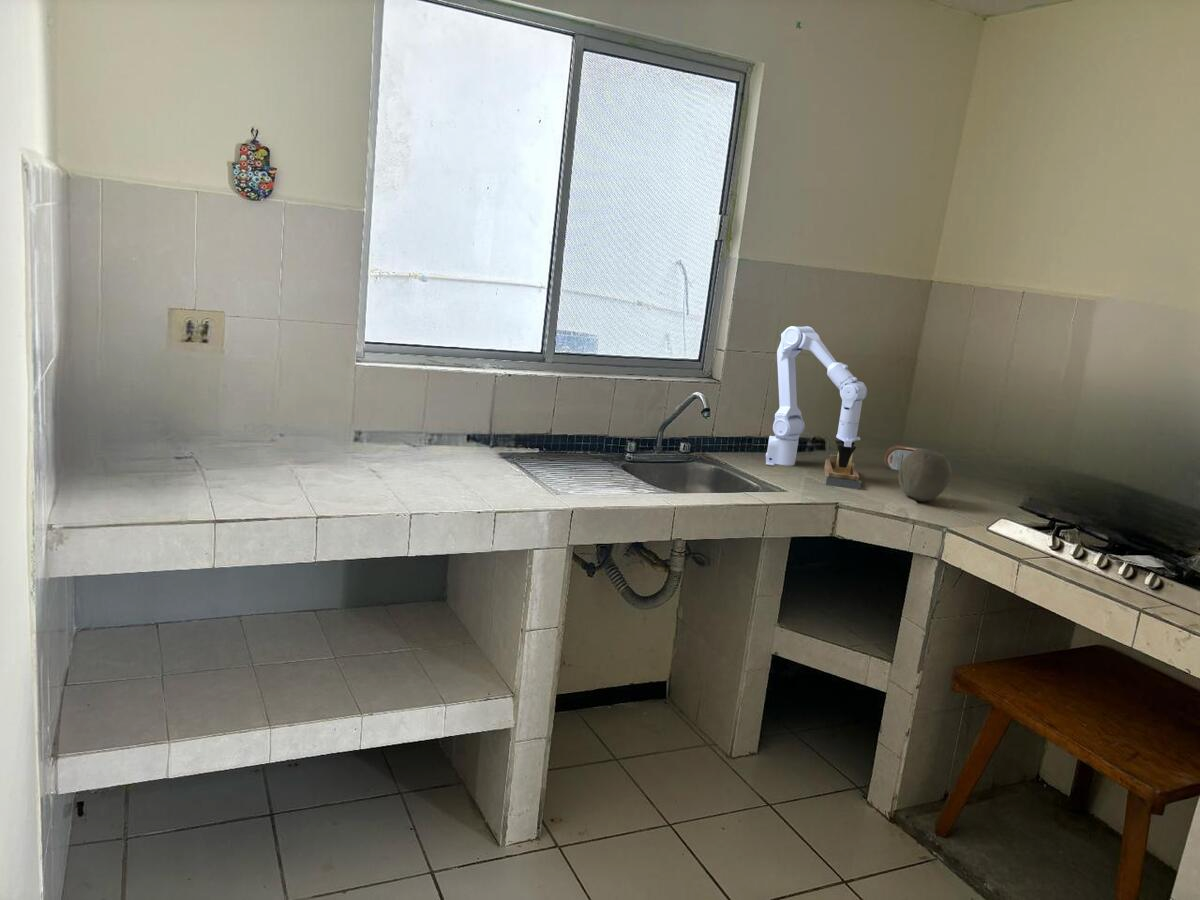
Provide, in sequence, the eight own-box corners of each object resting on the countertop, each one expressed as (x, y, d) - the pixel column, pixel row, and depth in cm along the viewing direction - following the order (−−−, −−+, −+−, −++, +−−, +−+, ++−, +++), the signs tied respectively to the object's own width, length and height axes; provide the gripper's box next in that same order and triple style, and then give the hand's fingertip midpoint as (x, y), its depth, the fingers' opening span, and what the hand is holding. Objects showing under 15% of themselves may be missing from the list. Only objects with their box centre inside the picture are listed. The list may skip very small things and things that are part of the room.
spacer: (835, 473, 283) (839, 450, 282) (835, 470, 287) (838, 448, 286) (849, 474, 283) (853, 452, 281) (848, 472, 286) (852, 449, 285)
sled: (827, 483, 276) (830, 467, 275) (824, 468, 296) (826, 454, 295) (857, 487, 275) (859, 471, 274) (851, 472, 294) (854, 457, 293)
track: (823, 487, 274) (825, 477, 273) (819, 466, 302) (820, 457, 301) (862, 492, 272) (863, 483, 272) (853, 470, 300) (855, 461, 299)
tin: (928, 474, 307) (932, 449, 305) (930, 476, 304) (935, 451, 302) (881, 468, 308) (886, 443, 306) (883, 470, 305) (887, 445, 303)
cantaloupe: (939, 510, 261) (949, 458, 258) (889, 499, 268) (897, 448, 265) (950, 501, 273) (959, 451, 270) (901, 490, 280) (910, 441, 277)
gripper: (864, 427, 274) (857, 472, 277) (860, 419, 288) (853, 462, 291) (840, 424, 275) (833, 469, 278) (837, 416, 289) (830, 459, 292)
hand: (842, 465), depth 284 cm, fingers closed on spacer, 4 cm apart
